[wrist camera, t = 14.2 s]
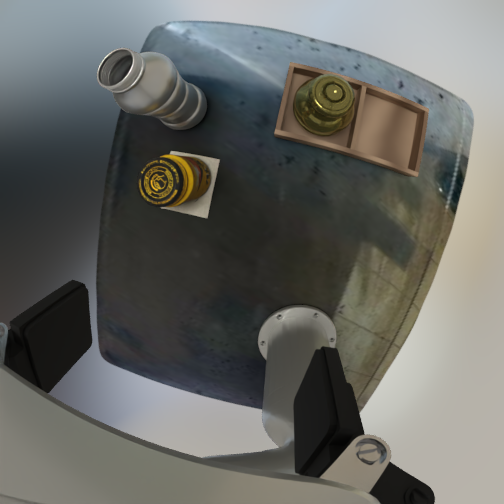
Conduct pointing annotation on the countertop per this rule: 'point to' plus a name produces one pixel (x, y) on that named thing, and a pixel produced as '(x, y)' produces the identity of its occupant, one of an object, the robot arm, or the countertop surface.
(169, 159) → the condiment
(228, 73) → the countertop surface
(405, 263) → the countertop surface
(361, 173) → the countertop surface
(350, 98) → the brass weight
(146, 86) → the plastic bottle
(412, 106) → the caddy
